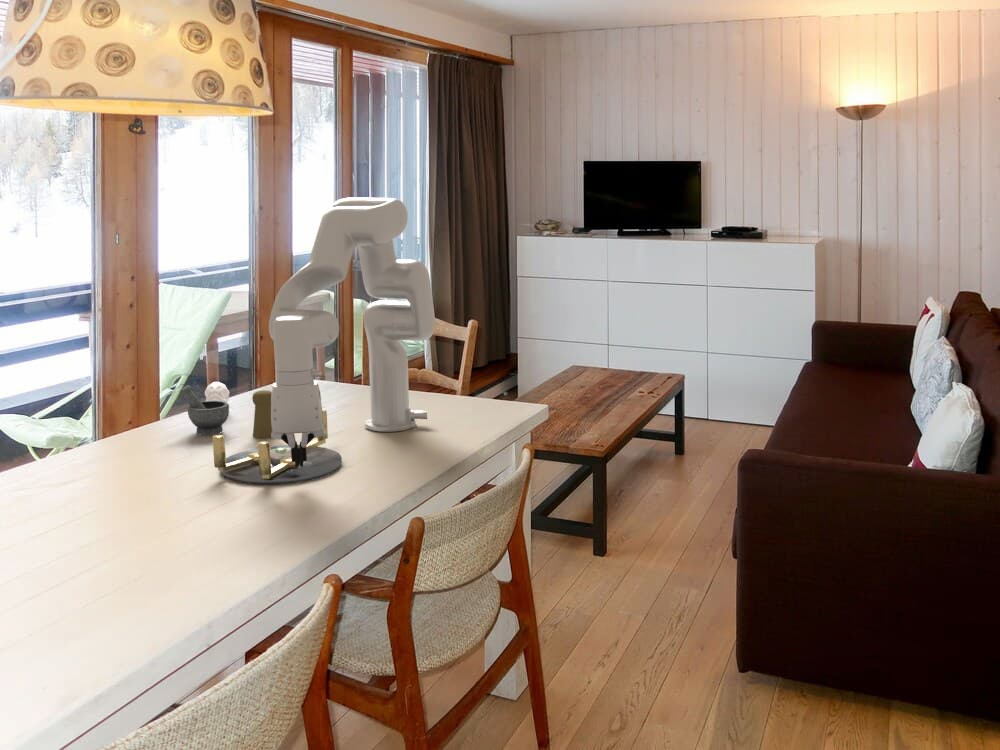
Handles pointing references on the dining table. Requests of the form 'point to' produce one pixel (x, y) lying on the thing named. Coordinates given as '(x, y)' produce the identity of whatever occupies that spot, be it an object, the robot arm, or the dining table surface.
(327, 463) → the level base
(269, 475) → the brass crank handle
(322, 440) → the brass bent bar
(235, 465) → the gold l-shaped piece
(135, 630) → the dining table surface
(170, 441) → the dining table surface
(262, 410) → the olive tapered upright piece
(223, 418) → the mortar and pestle
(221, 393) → the white carved sculpture
